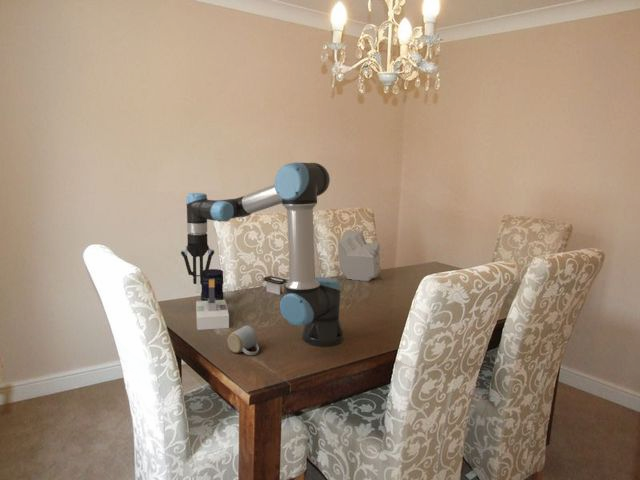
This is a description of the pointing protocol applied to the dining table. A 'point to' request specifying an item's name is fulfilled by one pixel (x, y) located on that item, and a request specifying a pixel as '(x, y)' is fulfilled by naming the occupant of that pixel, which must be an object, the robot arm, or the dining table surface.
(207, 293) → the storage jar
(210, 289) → the switch lever
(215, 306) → the switch box
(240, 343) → the ceramic mug
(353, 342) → the dining table surface
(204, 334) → the dining table surface
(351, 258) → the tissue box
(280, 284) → the grey bin
